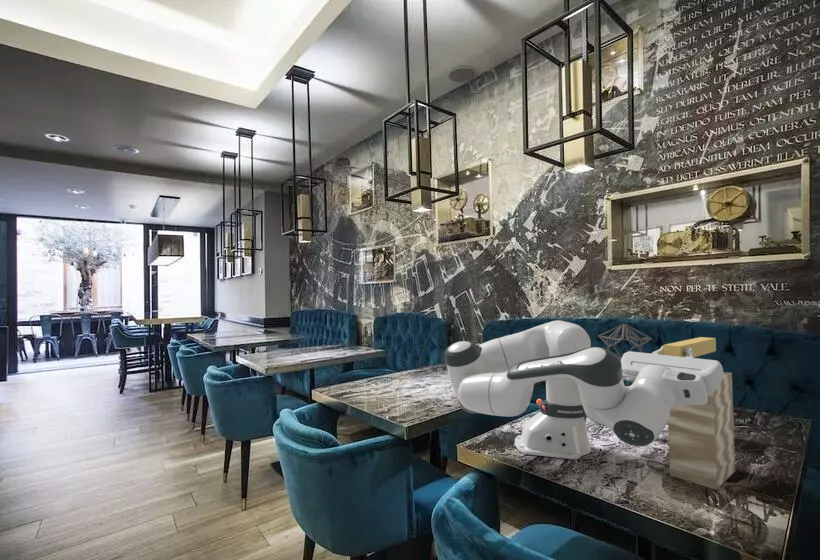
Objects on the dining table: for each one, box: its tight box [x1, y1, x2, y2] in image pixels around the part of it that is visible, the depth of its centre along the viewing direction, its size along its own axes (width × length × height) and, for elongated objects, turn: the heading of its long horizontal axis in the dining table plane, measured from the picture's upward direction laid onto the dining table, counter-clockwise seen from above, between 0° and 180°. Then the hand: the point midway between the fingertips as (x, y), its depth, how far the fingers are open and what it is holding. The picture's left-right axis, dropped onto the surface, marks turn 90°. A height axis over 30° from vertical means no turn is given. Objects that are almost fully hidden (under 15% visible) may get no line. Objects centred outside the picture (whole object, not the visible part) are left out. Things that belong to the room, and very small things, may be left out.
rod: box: [662, 336, 717, 358], centre depth 104 cm, size 26×4×4 cm, turn 128°
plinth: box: [667, 371, 736, 490], centre depth 107 cm, size 16×10×27 cm, turn 128°
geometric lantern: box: [597, 323, 653, 386], centre depth 165 cm, size 16×16×35 cm
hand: (677, 349), depth 98 cm, fingers closed on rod, 3 cm apart
